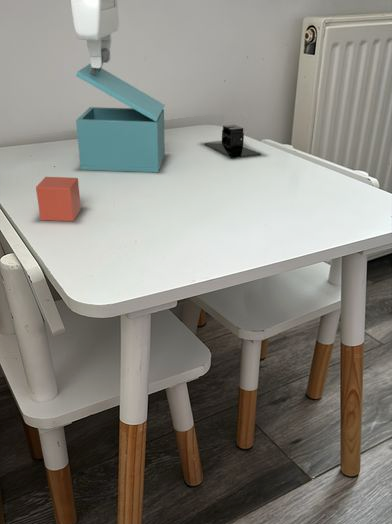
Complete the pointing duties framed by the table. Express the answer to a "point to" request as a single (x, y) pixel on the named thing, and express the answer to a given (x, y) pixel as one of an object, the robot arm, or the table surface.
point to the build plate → (232, 143)
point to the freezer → (120, 140)
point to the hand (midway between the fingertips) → (101, 64)
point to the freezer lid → (120, 89)
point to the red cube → (58, 198)
